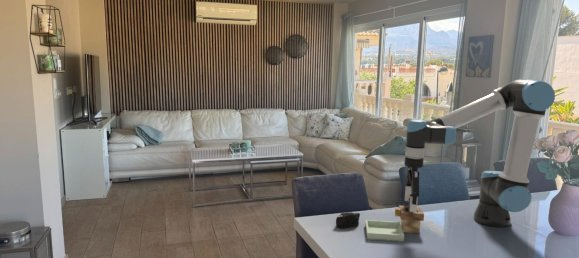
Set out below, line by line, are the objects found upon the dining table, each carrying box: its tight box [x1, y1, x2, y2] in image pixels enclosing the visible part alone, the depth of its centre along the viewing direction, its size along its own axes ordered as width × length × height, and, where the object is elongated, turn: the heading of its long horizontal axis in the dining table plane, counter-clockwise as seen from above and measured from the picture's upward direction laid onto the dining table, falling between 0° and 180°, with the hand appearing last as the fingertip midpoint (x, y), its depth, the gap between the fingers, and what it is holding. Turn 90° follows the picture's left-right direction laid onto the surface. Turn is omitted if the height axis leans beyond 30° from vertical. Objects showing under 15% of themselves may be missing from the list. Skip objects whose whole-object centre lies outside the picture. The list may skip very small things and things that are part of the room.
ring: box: [394, 205, 425, 222], centre depth 176 cm, size 11×9×3 cm
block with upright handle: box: [400, 197, 421, 234], centre depth 176 cm, size 7×6×14 cm
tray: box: [364, 219, 405, 243], centre depth 173 cm, size 14×14×3 cm
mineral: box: [335, 211, 361, 229], centre depth 181 cm, size 10×9×6 cm
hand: (410, 206), depth 176 cm, fingers open, 13 cm apart
